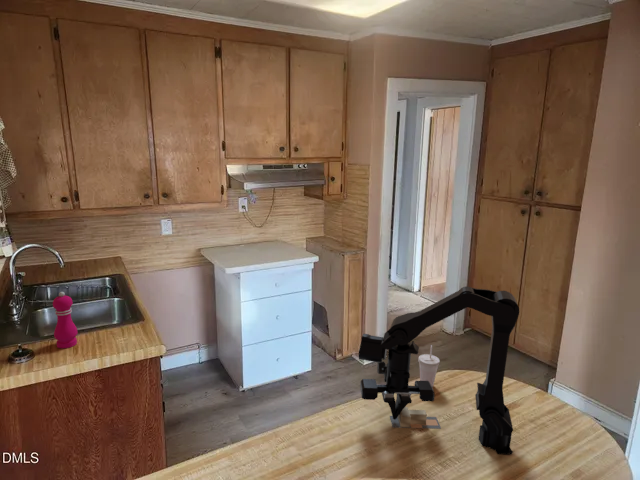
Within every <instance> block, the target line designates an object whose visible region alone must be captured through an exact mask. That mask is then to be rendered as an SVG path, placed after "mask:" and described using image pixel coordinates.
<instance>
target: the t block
mask: <svg viewBox="0 0 640 480" xmlns="http://www.w3.org/2000/svg"><path fill="white" fill-rule="evenodd" d="M427 417H428V415H427V412H426V409H409V407H408V406H405V407H404V409H403V410H402V411H401V413H400V414H399V416H398V420H399V423H400V427H410V424H423V425H426V418H427Z"/></svg>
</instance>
